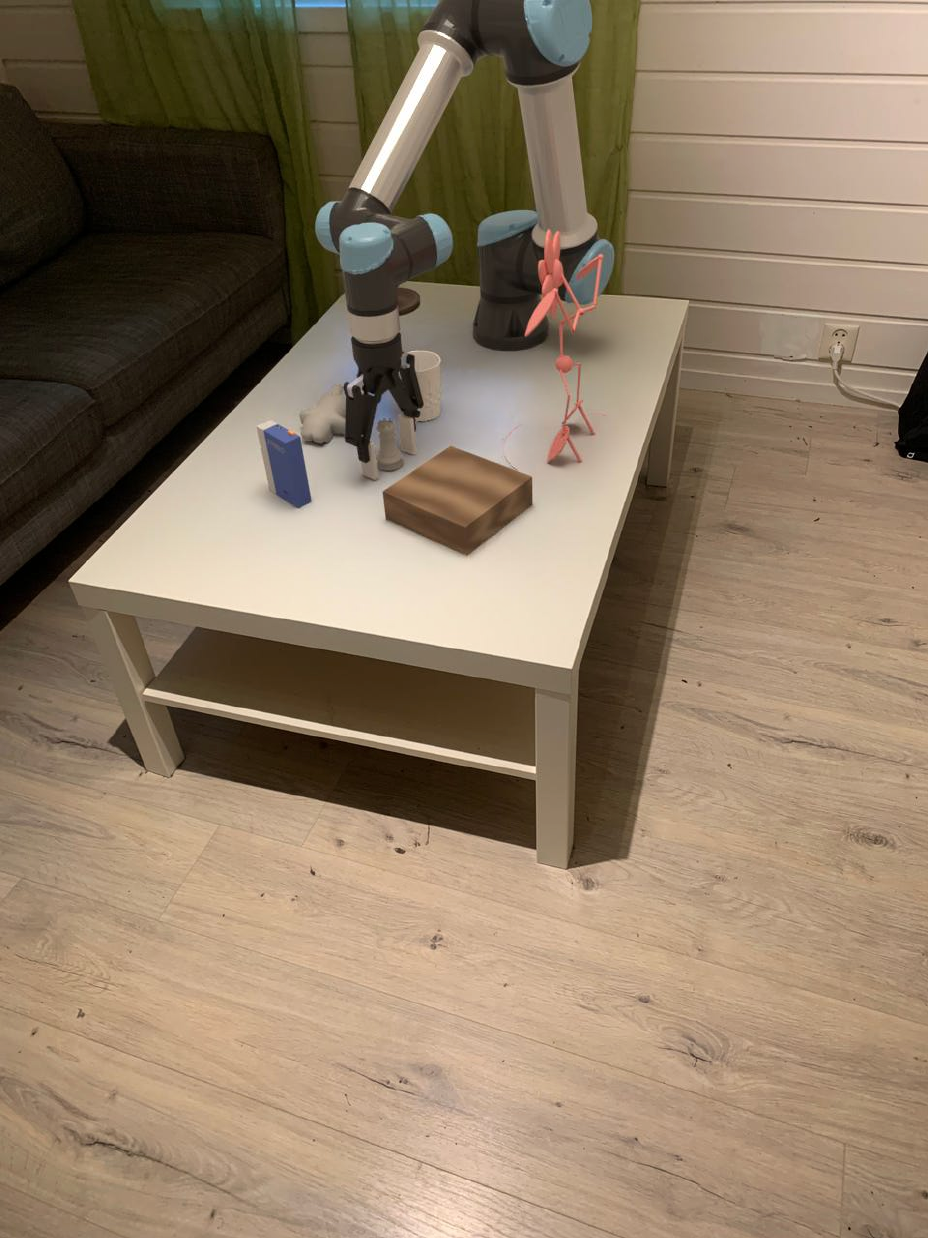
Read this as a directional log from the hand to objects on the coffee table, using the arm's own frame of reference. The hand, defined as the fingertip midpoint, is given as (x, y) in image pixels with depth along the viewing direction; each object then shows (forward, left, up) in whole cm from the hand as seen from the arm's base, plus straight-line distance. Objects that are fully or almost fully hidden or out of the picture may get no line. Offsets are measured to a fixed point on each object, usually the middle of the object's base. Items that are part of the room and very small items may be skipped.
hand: (390, 463), depth 165 cm
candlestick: (-25, -21, 0) cm, 33 cm away
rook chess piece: (0, 0, 0) cm, 0 cm away
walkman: (+16, -7, 0) cm, 17 cm away
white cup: (-16, -7, 0) cm, 18 cm away
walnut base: (+4, +18, 0) cm, 18 cm away
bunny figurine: (-4, -17, -1) cm, 18 cm away
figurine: (-20, +17, 0) cm, 27 cm away
